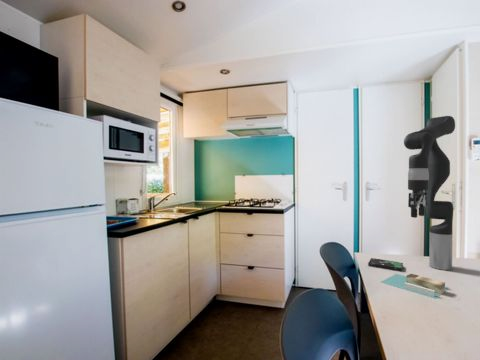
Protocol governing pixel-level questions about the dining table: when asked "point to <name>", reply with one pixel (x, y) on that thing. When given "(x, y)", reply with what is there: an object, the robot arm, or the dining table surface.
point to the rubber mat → (400, 283)
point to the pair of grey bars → (420, 289)
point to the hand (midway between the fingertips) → (417, 216)
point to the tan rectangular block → (426, 283)
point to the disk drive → (385, 264)
